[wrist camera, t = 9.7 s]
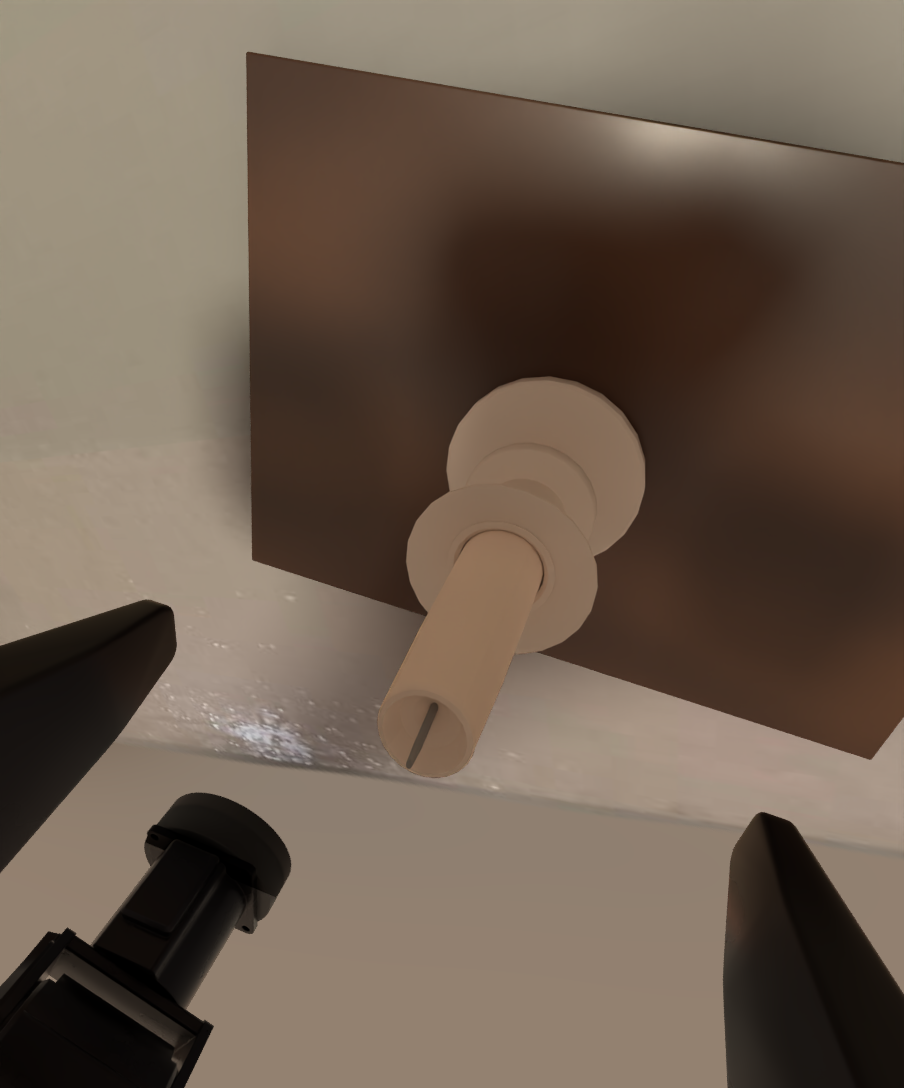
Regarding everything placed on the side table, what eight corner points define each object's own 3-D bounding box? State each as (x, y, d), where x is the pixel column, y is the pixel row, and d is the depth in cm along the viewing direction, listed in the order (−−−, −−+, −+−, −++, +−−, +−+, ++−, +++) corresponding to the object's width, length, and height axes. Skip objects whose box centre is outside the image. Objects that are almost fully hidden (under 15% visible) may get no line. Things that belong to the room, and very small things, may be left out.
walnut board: (864, 740, 19) (871, 760, 18) (264, 549, 23) (251, 560, 22) (1242, 223, 12) (1277, 226, 11) (264, 56, 15) (245, 50, 14)
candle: (449, 369, 17) (201, 573, 8) (659, 381, 15) (635, 645, 7) (452, 545, 19) (267, 845, 10) (632, 569, 18) (590, 938, 9)
